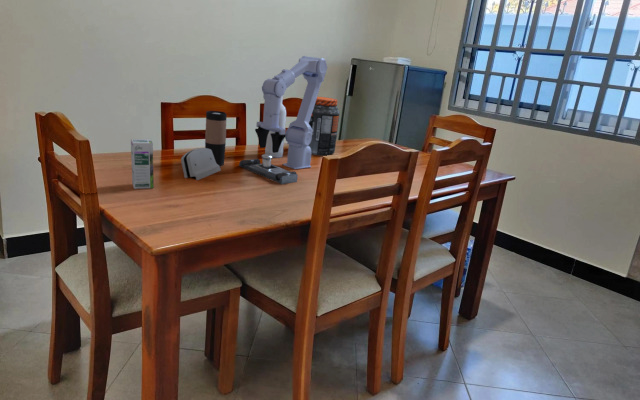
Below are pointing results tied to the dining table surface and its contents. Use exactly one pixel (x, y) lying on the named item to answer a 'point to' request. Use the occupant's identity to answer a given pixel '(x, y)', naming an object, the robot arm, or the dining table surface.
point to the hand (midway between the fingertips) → (268, 149)
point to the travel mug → (216, 134)
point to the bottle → (269, 140)
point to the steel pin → (266, 161)
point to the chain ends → (269, 171)
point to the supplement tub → (324, 126)
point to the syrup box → (142, 163)
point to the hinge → (199, 163)
